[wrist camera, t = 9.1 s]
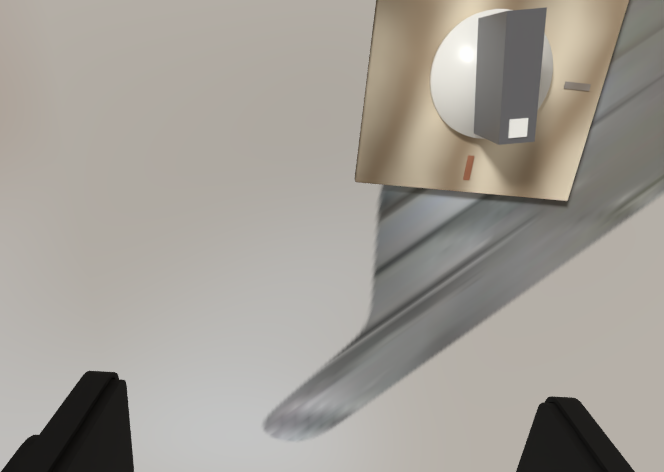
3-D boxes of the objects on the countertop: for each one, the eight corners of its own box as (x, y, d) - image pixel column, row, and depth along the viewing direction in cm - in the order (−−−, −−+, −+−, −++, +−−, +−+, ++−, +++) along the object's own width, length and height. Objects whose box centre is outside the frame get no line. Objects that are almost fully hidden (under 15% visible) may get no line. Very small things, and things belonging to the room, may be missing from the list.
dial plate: (354, 178, 37) (355, 182, 36) (385, -77, 30) (388, -81, 29) (561, 197, 38) (567, 201, 37) (633, -44, 32) (644, -48, 31)
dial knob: (429, 15, 31) (452, 5, 26) (555, 4, 31) (603, -7, 26) (429, 142, 35) (449, 156, 29) (542, 132, 35) (583, 145, 30)
